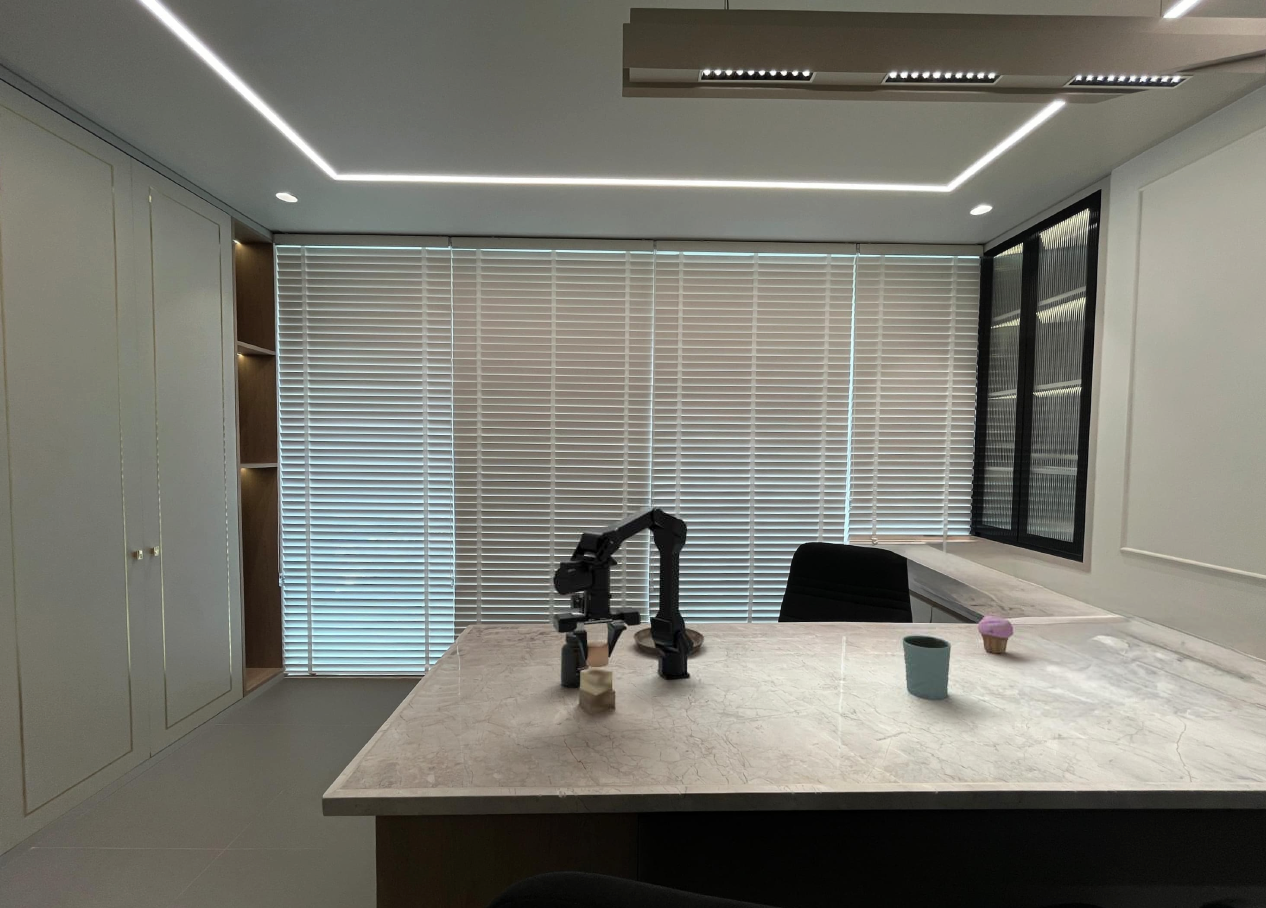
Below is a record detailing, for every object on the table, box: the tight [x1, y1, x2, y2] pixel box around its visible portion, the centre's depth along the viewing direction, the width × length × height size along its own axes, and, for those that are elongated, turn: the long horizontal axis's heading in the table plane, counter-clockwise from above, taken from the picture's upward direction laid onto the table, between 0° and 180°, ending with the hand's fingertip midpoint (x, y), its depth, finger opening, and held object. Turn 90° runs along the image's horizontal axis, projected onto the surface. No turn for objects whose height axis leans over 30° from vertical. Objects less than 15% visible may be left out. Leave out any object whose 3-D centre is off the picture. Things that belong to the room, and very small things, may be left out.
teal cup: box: [902, 634, 952, 701], centre depth 139 cm, size 10×10×12 cm
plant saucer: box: [633, 626, 705, 656], centre depth 172 cm, size 21×21×3 cm
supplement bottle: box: [560, 632, 590, 689], centre depth 144 cm, size 7×7×12 cm
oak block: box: [580, 667, 613, 695], centre depth 130 cm, size 5×5×4 cm
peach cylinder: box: [586, 641, 610, 668], centre depth 130 cm, size 5×5×4 cm
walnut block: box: [578, 687, 616, 715], centre depth 130 cm, size 6×6×4 cm
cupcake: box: [977, 615, 1014, 654], centre depth 169 cm, size 9×9×10 cm
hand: (597, 658), depth 130 cm, fingers closed on peach cylinder, 5 cm apart
